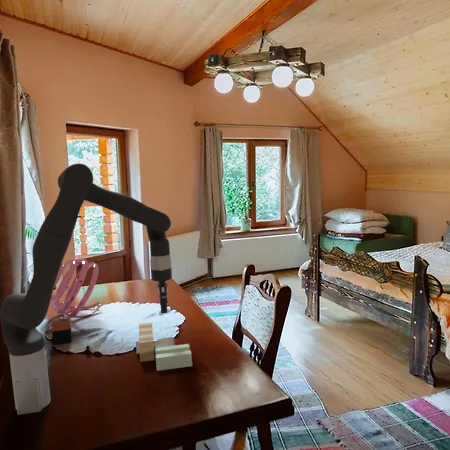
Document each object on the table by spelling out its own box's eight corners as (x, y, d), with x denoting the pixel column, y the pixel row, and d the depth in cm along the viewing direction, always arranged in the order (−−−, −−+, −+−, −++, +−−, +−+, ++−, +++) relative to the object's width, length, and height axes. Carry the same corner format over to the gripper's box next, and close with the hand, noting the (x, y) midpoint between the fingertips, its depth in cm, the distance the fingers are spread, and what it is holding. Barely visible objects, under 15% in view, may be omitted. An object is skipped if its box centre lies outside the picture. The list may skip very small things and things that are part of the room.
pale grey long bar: (173, 345, 151) (173, 334, 150) (175, 351, 147) (174, 340, 146) (136, 349, 148) (135, 339, 147) (136, 356, 144) (136, 345, 142)
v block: (192, 366, 134) (191, 354, 133) (156, 370, 132) (156, 359, 131) (188, 352, 144) (188, 342, 143) (155, 357, 141) (155, 346, 141)
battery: (71, 342, 156) (69, 318, 155) (53, 345, 154) (50, 321, 153) (72, 338, 161) (70, 314, 159) (54, 340, 159) (52, 317, 157)
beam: (154, 359, 139) (153, 341, 138) (140, 361, 138) (138, 343, 137) (153, 339, 157) (152, 322, 156) (140, 340, 156) (139, 323, 155)
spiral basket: (115, 263, 204) (66, 240, 191) (122, 290, 180) (67, 265, 166) (86, 306, 207) (35, 286, 193) (89, 338, 182) (32, 317, 169)
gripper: (150, 263, 150) (152, 303, 152) (151, 272, 136) (153, 317, 138) (169, 261, 151) (172, 301, 153) (172, 270, 137) (175, 314, 140)
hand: (163, 309), depth 146 cm, fingers open, 8 cm apart
